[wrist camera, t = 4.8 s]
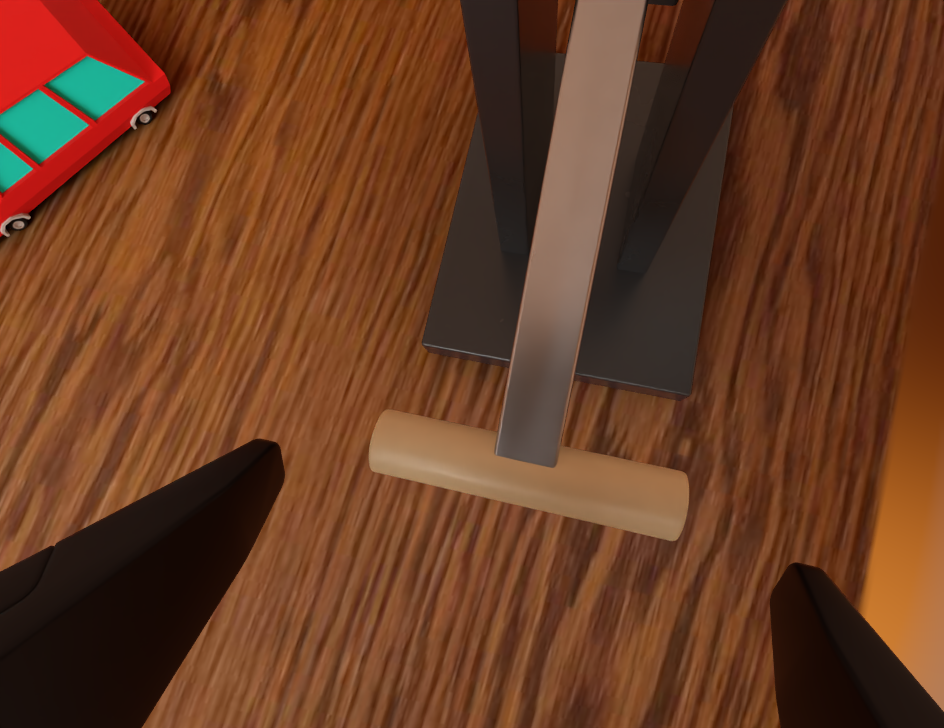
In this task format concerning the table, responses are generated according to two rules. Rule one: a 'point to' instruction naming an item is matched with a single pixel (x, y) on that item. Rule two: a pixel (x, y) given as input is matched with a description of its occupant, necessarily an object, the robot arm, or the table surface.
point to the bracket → (631, 199)
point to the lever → (555, 321)
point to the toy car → (64, 95)
